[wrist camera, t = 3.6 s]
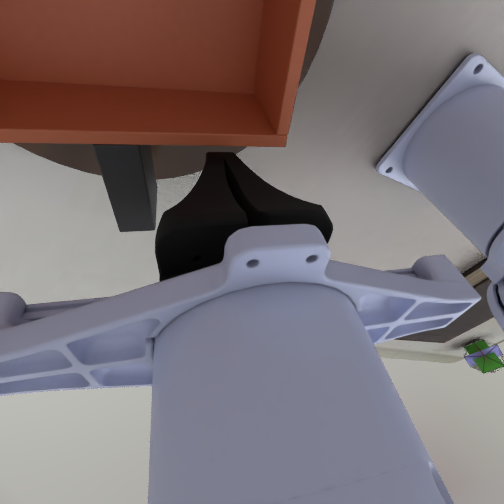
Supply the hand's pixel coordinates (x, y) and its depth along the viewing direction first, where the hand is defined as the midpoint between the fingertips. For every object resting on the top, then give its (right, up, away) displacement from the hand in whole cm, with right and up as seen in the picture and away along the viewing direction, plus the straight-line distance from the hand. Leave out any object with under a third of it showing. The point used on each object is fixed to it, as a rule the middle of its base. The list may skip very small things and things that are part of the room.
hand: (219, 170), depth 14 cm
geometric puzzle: (+51, -24, +49) cm, 75 cm away
